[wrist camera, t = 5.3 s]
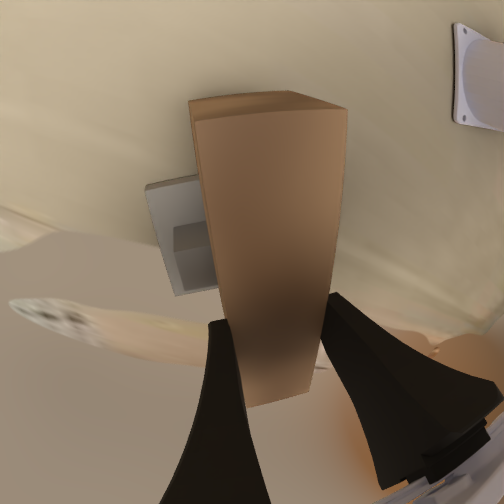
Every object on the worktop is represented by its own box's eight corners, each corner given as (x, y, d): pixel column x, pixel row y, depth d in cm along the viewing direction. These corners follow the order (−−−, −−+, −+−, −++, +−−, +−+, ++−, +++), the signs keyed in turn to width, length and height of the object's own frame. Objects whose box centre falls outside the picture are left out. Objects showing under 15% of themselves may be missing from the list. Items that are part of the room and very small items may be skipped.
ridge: (312, 158, 15) (339, 178, 13) (309, 260, 19) (329, 290, 17) (146, 185, 14) (139, 211, 11) (174, 288, 18) (176, 324, 15)
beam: (288, 90, 9) (347, 109, 6) (286, 337, 18) (308, 391, 15) (188, 100, 9) (194, 121, 5) (231, 350, 17) (246, 408, 14)
